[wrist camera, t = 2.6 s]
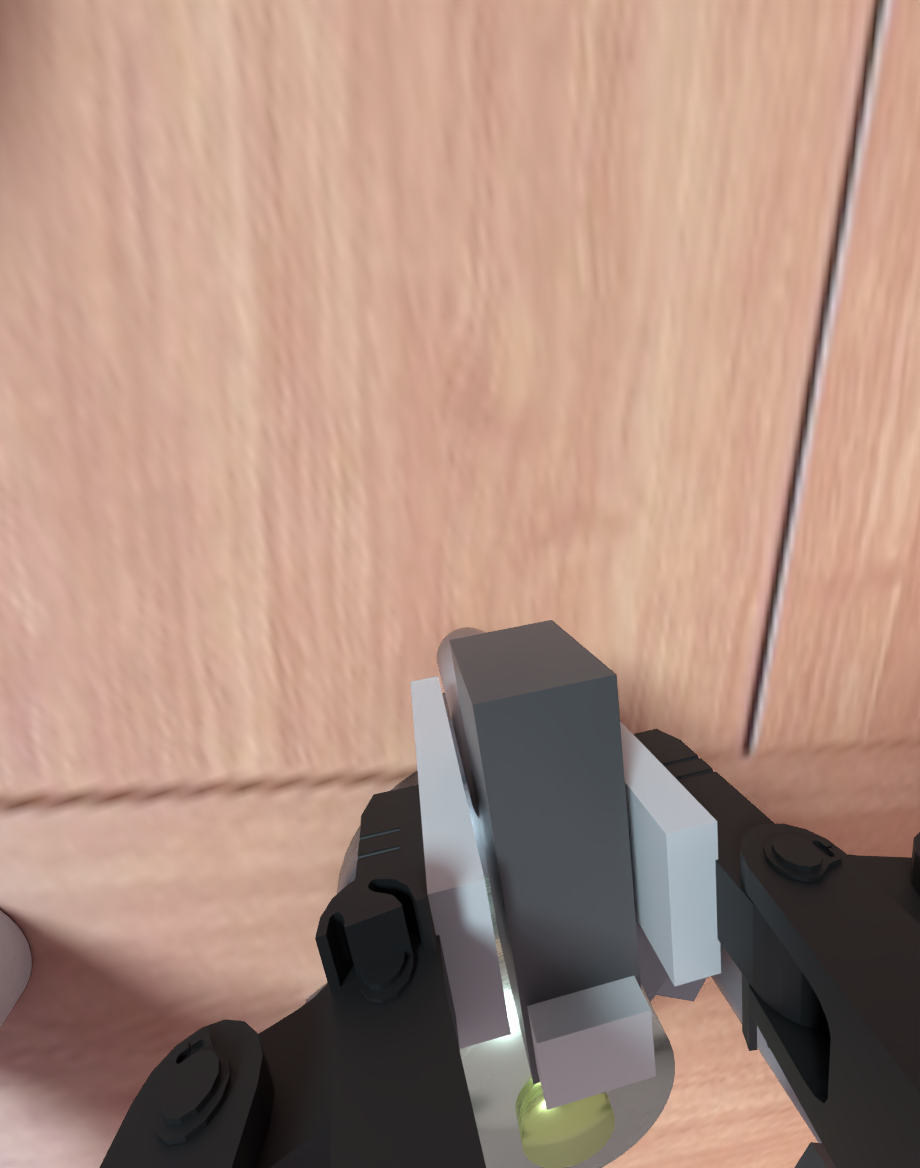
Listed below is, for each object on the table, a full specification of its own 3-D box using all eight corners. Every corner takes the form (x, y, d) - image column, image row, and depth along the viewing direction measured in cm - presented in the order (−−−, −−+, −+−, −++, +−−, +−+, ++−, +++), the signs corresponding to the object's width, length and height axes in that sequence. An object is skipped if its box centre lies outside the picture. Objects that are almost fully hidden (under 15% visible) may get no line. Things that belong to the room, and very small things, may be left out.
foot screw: (421, 569, 16) (470, 726, 5) (482, 558, 16) (642, 688, 6) (452, 745, 17) (536, 1127, 7) (507, 733, 18) (668, 1085, 7)
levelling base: (424, 649, 17) (447, 778, 9) (770, 759, 20) (991, 918, 13) (277, 1030, 19) (204, 1367, 12) (605, 1072, 23) (707, 1355, 15)
